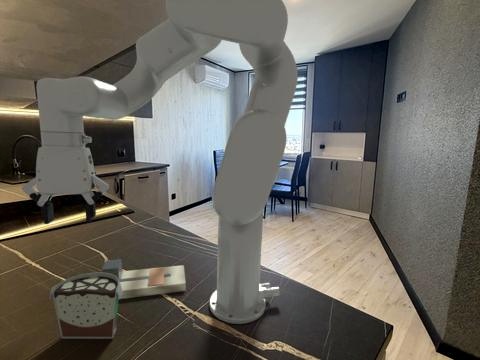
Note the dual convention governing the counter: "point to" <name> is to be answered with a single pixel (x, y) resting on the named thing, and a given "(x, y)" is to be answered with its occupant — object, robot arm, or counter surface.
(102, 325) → the food container
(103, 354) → the counter surface
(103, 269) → the fader tab
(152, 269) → the fader console
